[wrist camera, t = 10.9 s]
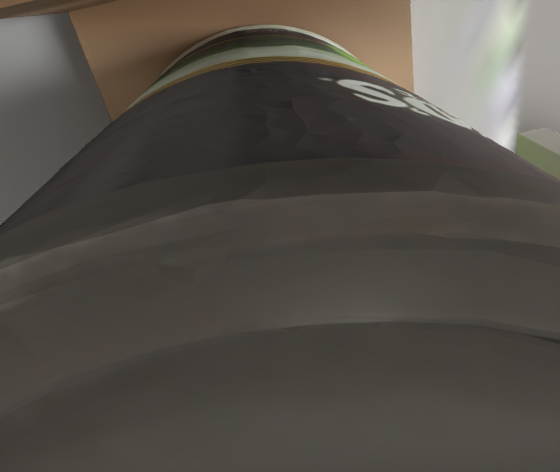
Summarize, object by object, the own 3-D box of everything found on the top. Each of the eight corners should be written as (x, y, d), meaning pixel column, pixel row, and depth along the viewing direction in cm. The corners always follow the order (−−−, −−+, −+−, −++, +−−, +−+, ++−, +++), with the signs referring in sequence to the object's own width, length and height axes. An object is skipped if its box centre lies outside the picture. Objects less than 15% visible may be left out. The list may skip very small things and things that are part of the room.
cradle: (57, -42, 14) (-262, -105, 5) (393, -123, 13) (669, -343, 5) (201, 327, 22) (171, 547, 13) (415, 283, 21) (531, 482, 13)
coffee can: (274, -56, 13) (656, -683, 1) (445, 173, 17) (917, 601, 5) (72, 163, 16) (-470, 701, 4) (260, 313, 20) (282, 797, 8)
